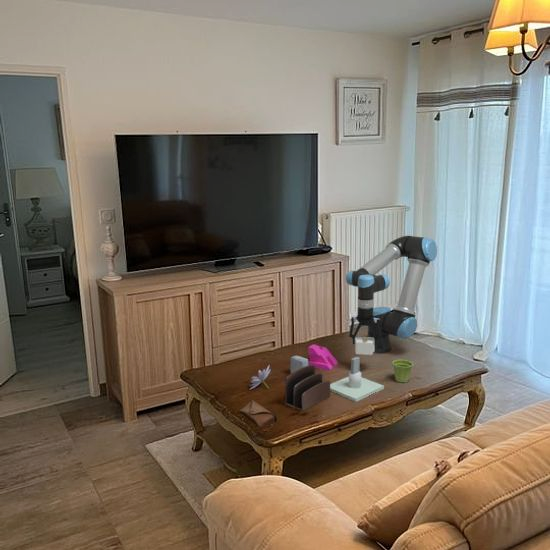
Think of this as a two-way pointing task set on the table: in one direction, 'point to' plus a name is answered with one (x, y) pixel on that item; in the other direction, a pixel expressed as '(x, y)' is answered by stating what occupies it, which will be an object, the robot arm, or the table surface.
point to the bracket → (321, 357)
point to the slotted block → (364, 345)
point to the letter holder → (305, 388)
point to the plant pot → (402, 370)
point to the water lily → (260, 378)
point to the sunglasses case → (258, 414)
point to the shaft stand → (355, 384)
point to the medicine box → (298, 363)
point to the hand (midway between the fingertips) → (364, 350)
